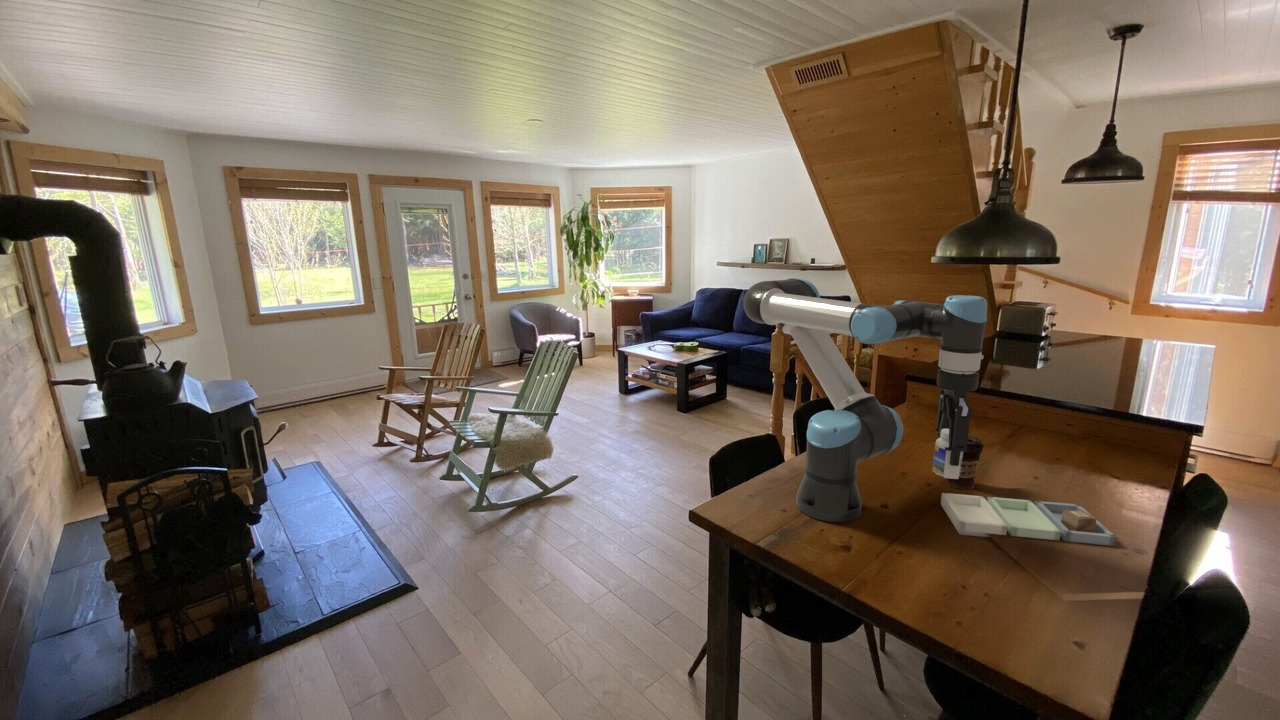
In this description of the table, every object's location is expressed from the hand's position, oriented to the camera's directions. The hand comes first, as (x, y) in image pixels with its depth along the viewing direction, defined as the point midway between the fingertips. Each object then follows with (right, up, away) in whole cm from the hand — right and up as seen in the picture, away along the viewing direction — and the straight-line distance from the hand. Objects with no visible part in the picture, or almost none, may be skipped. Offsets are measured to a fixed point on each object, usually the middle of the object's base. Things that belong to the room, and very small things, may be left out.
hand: (946, 471), depth 117 cm
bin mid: (+19, -13, +4) cm, 23 cm away
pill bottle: (0, -1, 0) cm, 1 cm away
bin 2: (+29, -13, +2) cm, 32 cm away
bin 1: (+9, -13, +6) cm, 17 cm away
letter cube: (+28, -13, -1) cm, 31 cm away
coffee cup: (+17, -9, +23) cm, 30 cm away
